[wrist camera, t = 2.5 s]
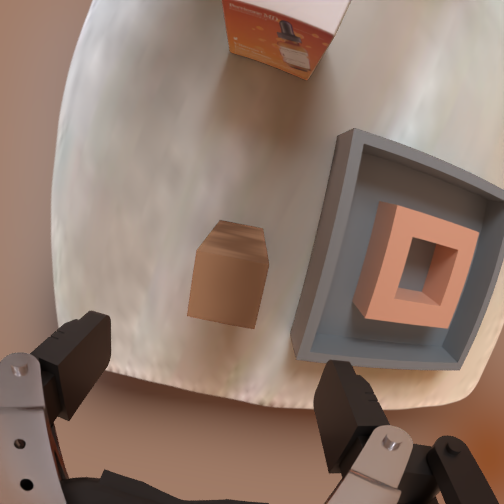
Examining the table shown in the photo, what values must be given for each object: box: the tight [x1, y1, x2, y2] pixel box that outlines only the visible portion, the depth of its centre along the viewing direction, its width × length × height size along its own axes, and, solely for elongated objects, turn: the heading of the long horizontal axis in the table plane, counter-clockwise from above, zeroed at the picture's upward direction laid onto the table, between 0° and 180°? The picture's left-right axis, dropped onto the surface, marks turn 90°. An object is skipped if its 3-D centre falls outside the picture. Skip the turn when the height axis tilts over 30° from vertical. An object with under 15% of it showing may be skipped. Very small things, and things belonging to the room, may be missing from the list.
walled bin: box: [290, 128, 504, 370], centre depth 27 cm, size 20×20×5 cm
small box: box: [222, 0, 351, 80], centre depth 19 cm, size 8×6×10 cm
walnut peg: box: [187, 220, 269, 329], centre depth 23 cm, size 4×4×12 cm
